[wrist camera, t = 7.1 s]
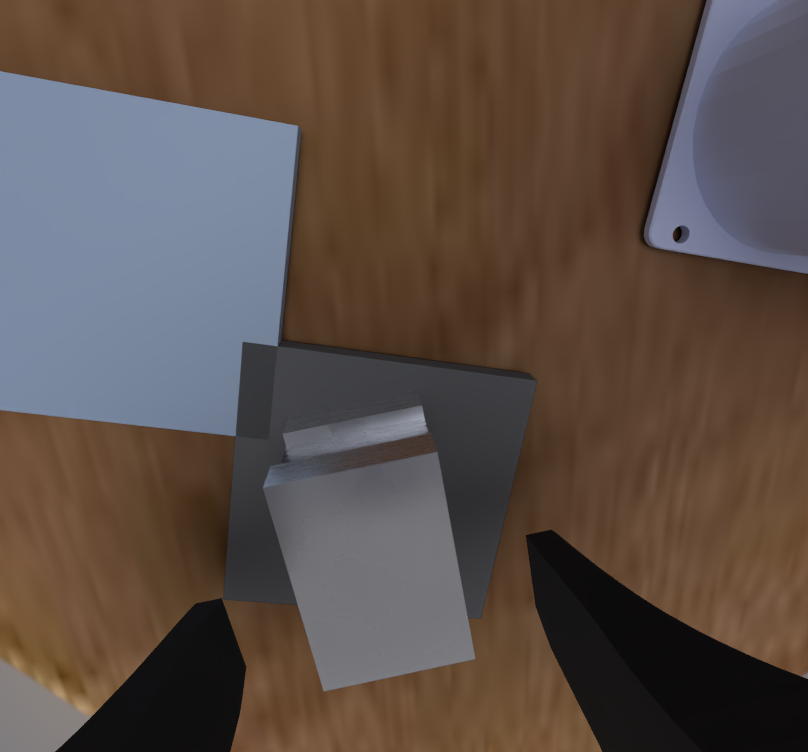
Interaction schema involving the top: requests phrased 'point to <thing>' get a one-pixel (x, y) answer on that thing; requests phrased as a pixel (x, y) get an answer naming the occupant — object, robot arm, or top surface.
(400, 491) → the block
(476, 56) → the top surface
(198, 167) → the stand
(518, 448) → the stand
